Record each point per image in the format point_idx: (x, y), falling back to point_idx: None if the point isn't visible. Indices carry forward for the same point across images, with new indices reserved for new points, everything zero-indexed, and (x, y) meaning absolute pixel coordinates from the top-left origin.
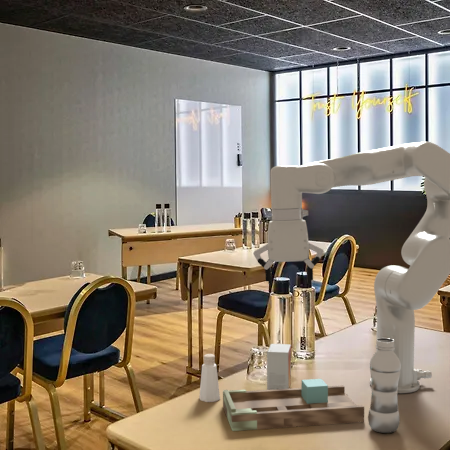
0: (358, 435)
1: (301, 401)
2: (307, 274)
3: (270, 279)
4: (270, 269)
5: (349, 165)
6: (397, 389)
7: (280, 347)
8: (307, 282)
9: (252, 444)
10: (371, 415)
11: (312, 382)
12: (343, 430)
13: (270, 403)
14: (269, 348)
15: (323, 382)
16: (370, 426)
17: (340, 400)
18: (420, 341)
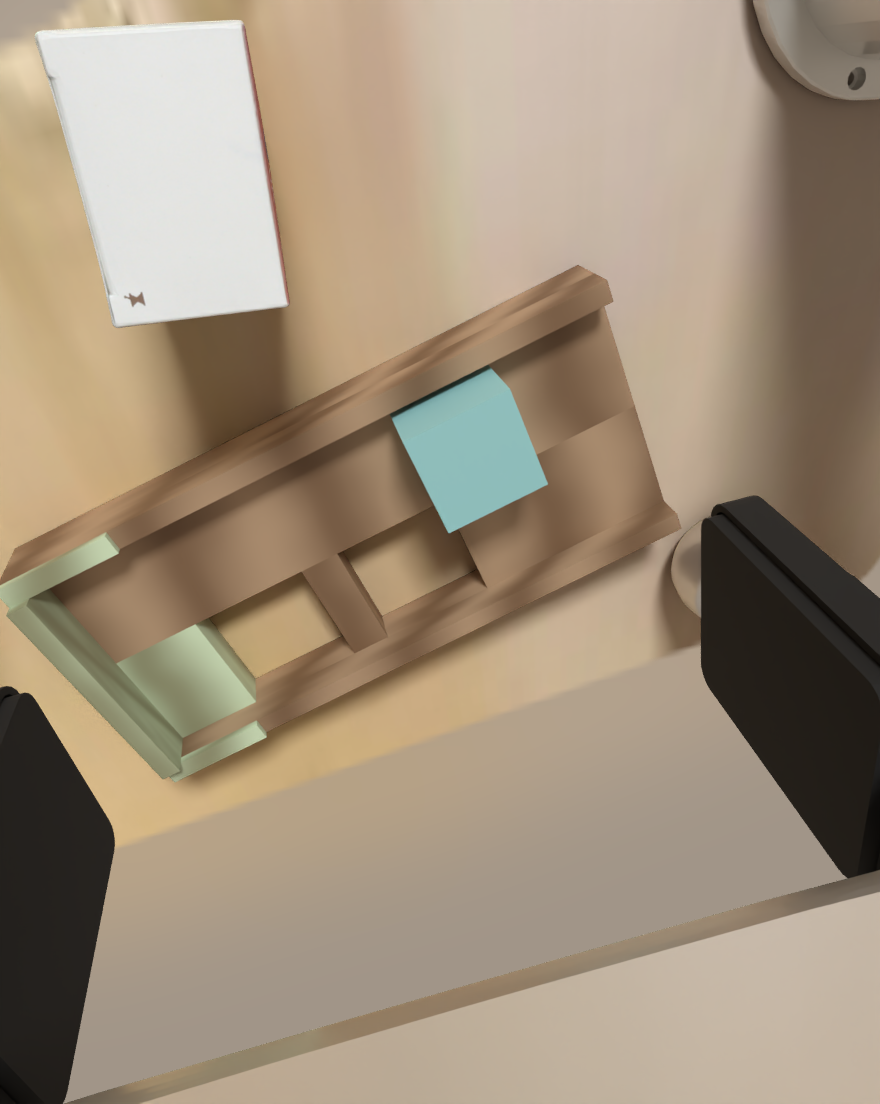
0: (622, 610)
1: (400, 480)
2: (790, 800)
3: (85, 925)
4: (9, 1082)
5: None
6: (877, 97)
7: (182, 174)
8: (710, 666)
9: (288, 782)
10: (697, 614)
11: (466, 462)
12: (573, 592)
13: (263, 548)
14: (90, 212)
15: (523, 445)
16: (673, 583)
17: (578, 409)
18: None
